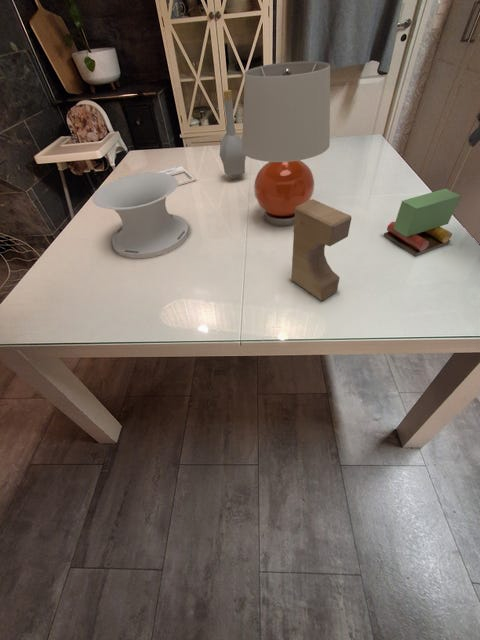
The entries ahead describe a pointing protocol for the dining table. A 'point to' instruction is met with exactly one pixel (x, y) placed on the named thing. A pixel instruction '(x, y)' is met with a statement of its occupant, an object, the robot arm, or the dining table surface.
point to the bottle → (231, 143)
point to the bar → (426, 212)
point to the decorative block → (316, 246)
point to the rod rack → (419, 239)
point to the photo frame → (177, 171)
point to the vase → (143, 214)
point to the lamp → (285, 132)
